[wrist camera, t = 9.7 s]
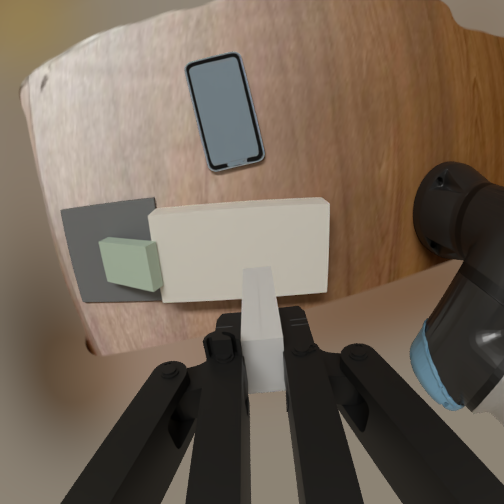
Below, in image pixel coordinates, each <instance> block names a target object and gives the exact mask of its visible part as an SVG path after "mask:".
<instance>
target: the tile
mask: <svg viewBox="0 0 504 504" xmlns="http://www.w3.org/2000/svg"><path fill="white" fill-rule="evenodd" d="M99 247H100V251H101V256H102V260H103V265H104V269H105V273H106V277H107V281H108V282H112V283H116V284H120V285H125V286H129V287H133V288H138V289H142V290H147V291H152V292H155V291H156V290H157V289H159V288H160V287H161V286H163V281H162V276H161V270H160V265H159V259H158V253H157V247H156V241H147V240H136V239H125V238H114V237H107V238H105V239H103V240H101V241H99Z"/></svg>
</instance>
